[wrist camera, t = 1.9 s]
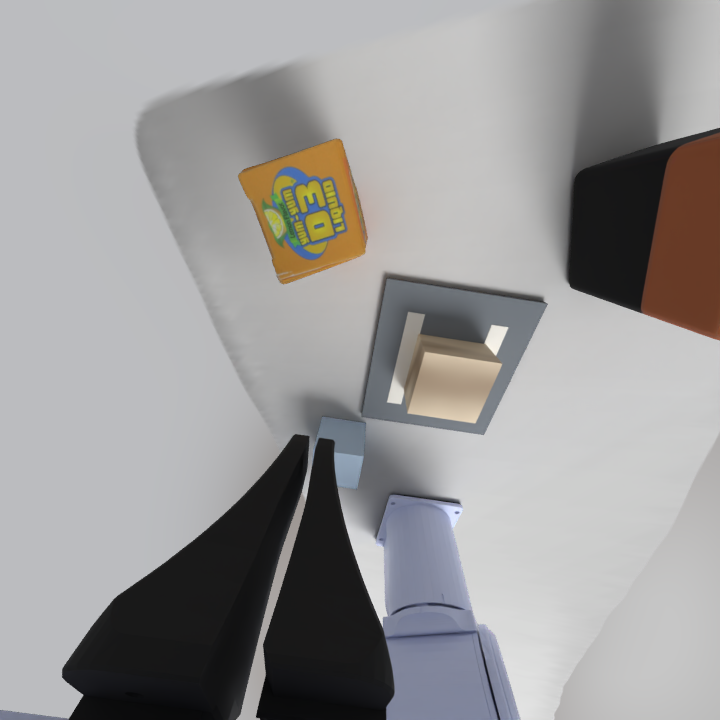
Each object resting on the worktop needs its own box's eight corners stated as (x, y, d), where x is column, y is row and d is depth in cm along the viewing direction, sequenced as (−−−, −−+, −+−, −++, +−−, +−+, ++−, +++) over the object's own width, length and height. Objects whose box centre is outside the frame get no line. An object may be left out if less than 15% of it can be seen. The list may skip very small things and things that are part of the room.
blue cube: (359, 453, 26) (356, 489, 23) (319, 447, 26) (310, 482, 23) (365, 422, 24) (363, 456, 21) (322, 415, 24) (313, 449, 21)
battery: (660, 142, 14) (1140, 13, 5) (639, 270, 17) (922, 326, 8) (570, 172, 15) (853, 104, 6) (564, 289, 18) (749, 358, 9)
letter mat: (482, 431, 24) (483, 435, 23) (361, 413, 24) (361, 417, 23) (544, 302, 18) (547, 304, 18) (386, 277, 18) (386, 278, 18)
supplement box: (373, 240, 17) (370, 263, 8) (323, 255, 18) (269, 291, 9) (360, 180, 16) (338, 130, 7) (305, 198, 16) (220, 173, 7)
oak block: (463, 398, 22) (475, 423, 19) (403, 389, 22) (407, 413, 19) (485, 344, 19) (502, 363, 17) (418, 333, 19) (425, 351, 17)
